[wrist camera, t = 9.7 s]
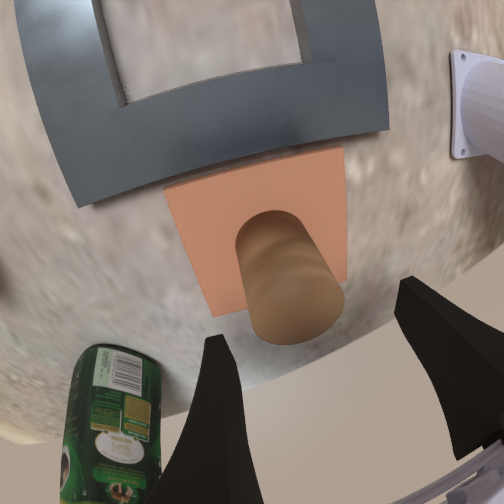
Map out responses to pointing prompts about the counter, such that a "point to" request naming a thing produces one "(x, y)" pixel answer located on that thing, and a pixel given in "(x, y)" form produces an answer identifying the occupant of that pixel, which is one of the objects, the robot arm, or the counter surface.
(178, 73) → the counter surface
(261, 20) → the counter surface
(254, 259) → the brown wooden cylinder
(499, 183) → the counter surface
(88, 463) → the coffee jar
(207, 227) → the mat
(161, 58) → the counter surface
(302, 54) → the grey square frame
